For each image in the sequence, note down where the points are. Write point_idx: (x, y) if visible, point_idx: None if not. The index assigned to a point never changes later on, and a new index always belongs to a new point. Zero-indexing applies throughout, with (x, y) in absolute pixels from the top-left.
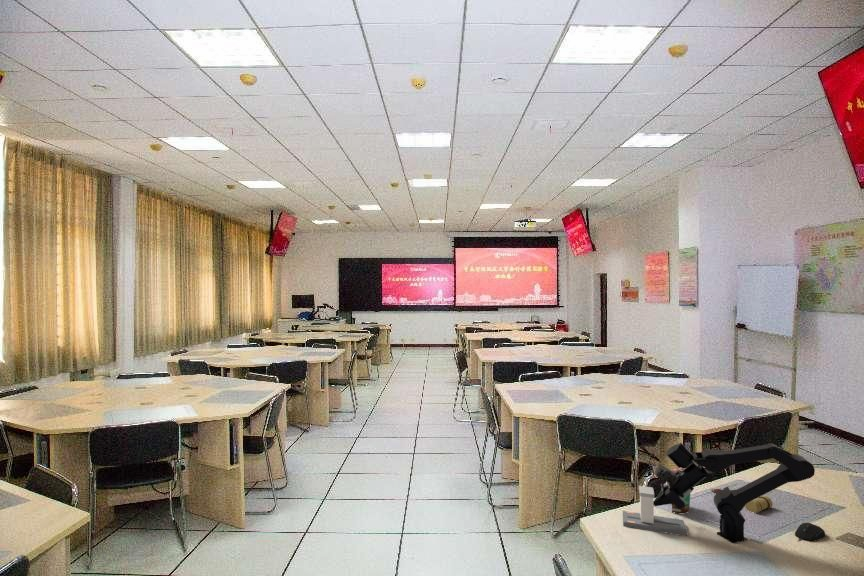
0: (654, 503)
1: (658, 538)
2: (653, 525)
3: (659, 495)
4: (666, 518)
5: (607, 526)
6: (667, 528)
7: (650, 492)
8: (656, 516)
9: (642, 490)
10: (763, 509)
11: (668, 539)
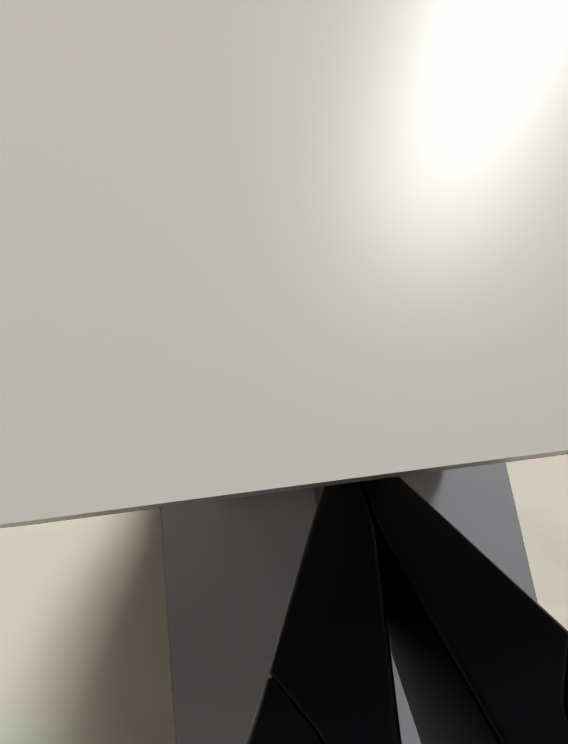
0: (318, 506)
1: (3, 560)
2: None
3: (476, 718)
4: None
5: None
6: (177, 682)
7: (142, 327)
8: (499, 520)
9: (232, 8)
10: None
11: (20, 677)
